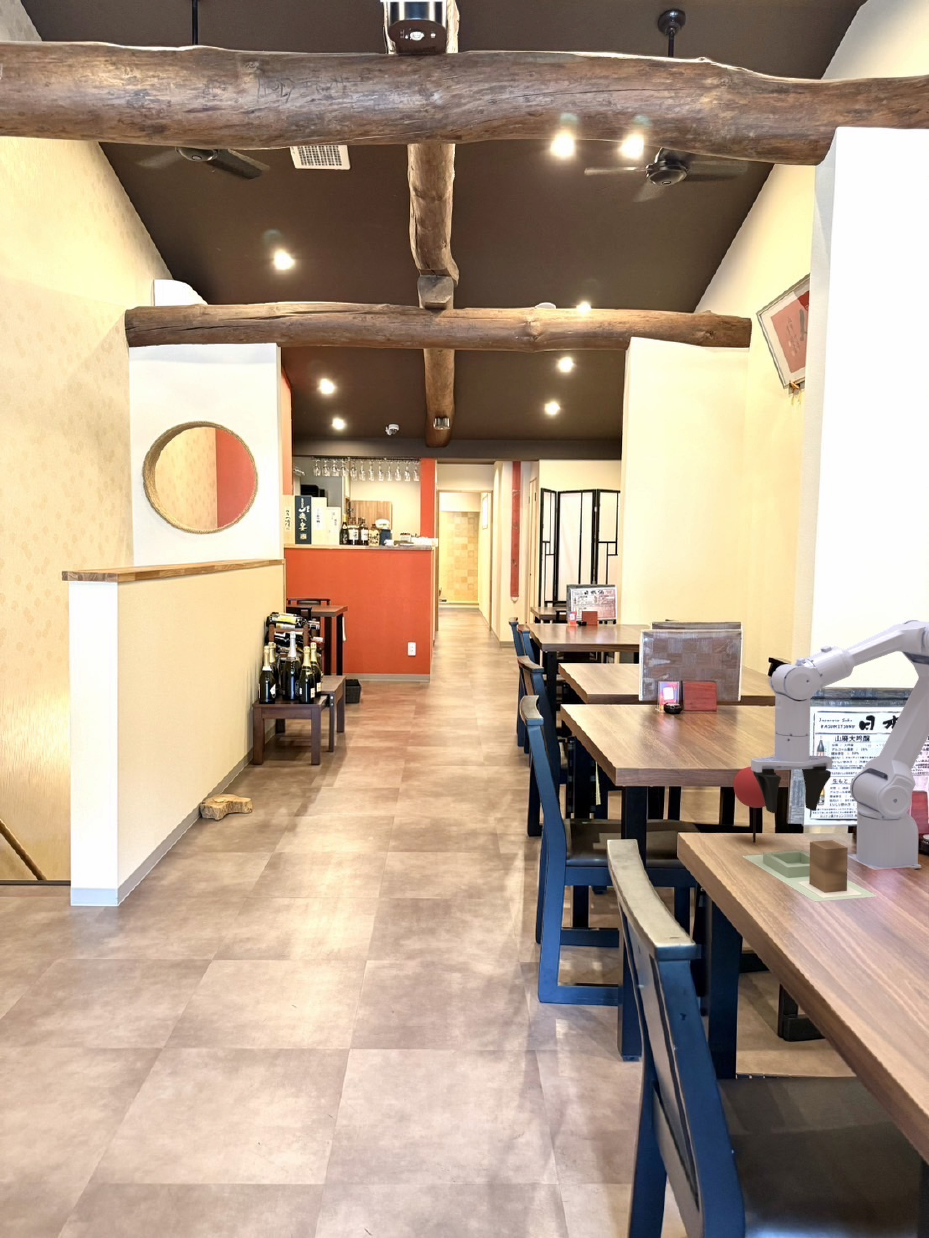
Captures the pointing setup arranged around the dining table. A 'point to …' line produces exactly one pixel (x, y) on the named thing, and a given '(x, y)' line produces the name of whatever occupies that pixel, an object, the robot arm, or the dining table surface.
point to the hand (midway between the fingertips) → (791, 810)
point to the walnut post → (828, 866)
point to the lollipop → (749, 793)
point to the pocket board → (802, 875)
